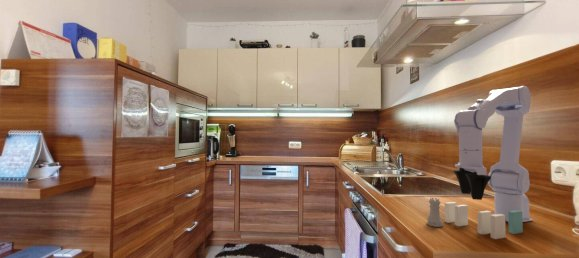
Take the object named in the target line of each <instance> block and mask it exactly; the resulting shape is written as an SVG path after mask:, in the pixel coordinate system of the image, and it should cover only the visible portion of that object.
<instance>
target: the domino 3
mask: <svg viewBox="0 0 579 258" xmlns="http://www.w3.org/2000/svg"><path fill="white" fill-rule="evenodd" d="M492 214H493V213H492V211H490V210H480V211H477V217H476V218H477V234H479V235H488V234H491V224H490V215H492Z"/></svg>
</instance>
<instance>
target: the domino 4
mask: <svg viewBox="0 0 579 258" xmlns="http://www.w3.org/2000/svg"><path fill="white" fill-rule="evenodd" d="M490 224H491V233H490V238H491V239H493V240H500V239H504V238H506V221H505V215H503V214H496V215H490Z"/></svg>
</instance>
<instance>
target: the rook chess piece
mask: <svg viewBox="0 0 579 258" xmlns="http://www.w3.org/2000/svg"><path fill="white" fill-rule="evenodd" d="M428 203H429V214H428V217H427V218H426V220H427V221H426V224H427V225H428V226H430V227H434V228H442V227H443V226H444V223H443V219H442V217H441V214H440V208H441V207H440V204H441V203H442V202H441V201H440V199H439V198H437V197H436V198H434V197H430V198H429V200H428Z"/></svg>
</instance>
